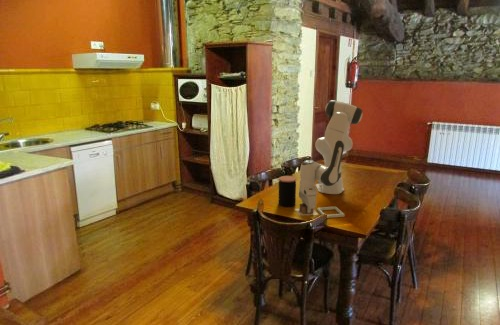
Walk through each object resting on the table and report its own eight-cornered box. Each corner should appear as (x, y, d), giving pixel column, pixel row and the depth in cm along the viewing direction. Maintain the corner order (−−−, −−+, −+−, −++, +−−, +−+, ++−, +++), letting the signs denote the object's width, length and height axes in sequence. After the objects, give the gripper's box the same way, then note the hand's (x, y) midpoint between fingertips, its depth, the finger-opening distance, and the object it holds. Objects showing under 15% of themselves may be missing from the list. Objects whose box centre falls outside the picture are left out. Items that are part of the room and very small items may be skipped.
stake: (294, 210, 213) (294, 201, 212) (312, 209, 215) (312, 200, 214) (300, 217, 203) (300, 208, 202) (318, 216, 205) (318, 207, 203)
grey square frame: (316, 211, 211) (317, 207, 211) (335, 210, 213) (335, 206, 213) (324, 219, 200) (324, 215, 199) (344, 218, 202) (344, 214, 201)
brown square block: (299, 209, 211) (299, 203, 210) (309, 209, 212) (309, 202, 211) (302, 214, 205) (303, 207, 204) (313, 213, 206) (313, 206, 205)
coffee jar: (298, 207, 218) (299, 179, 213) (282, 209, 215) (283, 181, 210) (290, 201, 228) (291, 175, 223) (275, 203, 224) (276, 176, 220)
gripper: (296, 182, 214) (296, 203, 218) (307, 193, 195) (306, 217, 198) (306, 182, 215) (305, 203, 219) (318, 193, 196) (317, 216, 199)
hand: (306, 209), depth 209 cm, fingers closed on brown square block, 6 cm apart
